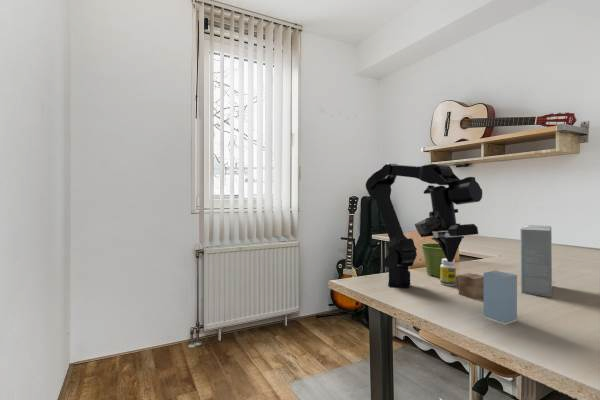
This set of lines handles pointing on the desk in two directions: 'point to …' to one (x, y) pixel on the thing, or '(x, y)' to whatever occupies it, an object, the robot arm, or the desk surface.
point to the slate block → (500, 296)
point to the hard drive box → (536, 260)
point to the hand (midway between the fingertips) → (450, 261)
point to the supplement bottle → (448, 273)
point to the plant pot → (433, 258)
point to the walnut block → (471, 285)
